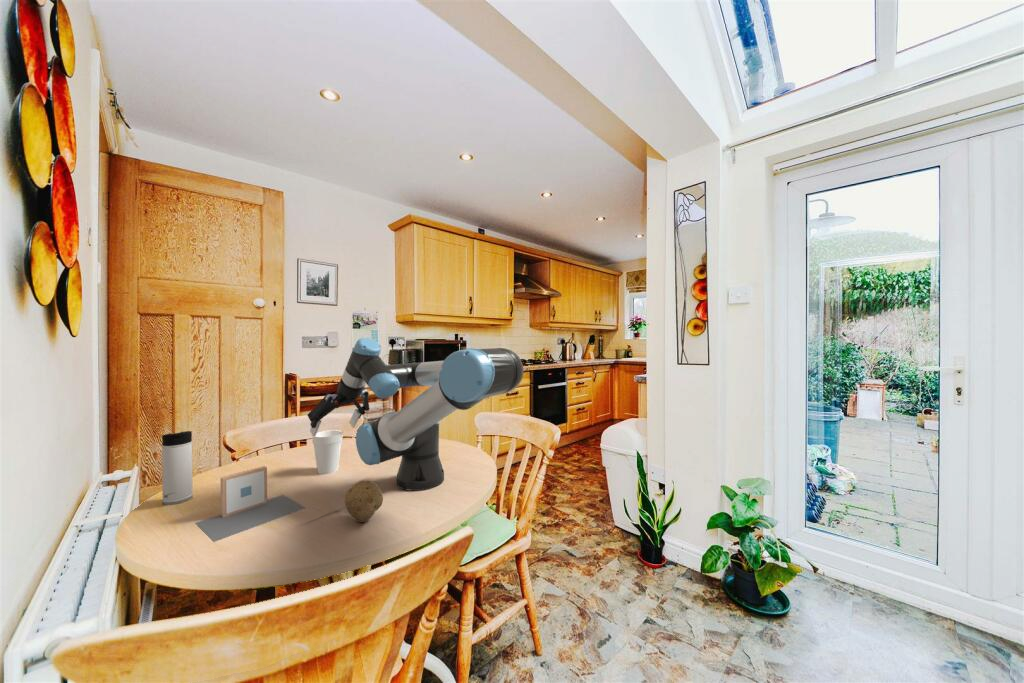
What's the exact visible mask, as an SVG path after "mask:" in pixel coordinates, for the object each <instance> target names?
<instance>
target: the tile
mask: <svg viewBox="0 0 1024 683" xmlns="http://www.w3.org/2000/svg"><path fill="white" fill-rule="evenodd" d="M267 500H268V468H267V466H264V465H263V466H260V467H256V468H252V469H247V470H243V471H239V472H236V473H233V474H228V475H224V476H220V515H221V516H222V517H226V516H229V515H232V514H235V513H238V512H241V511H244V510H247V509H250V508H253V507H256V506H259V505H262V504H265V503H267Z"/></svg>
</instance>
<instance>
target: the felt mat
mask: <svg viewBox="0 0 1024 683" xmlns="http://www.w3.org/2000/svg"><path fill="white" fill-rule="evenodd" d="M304 509H306V506H304V505H302V504H300V503H299V502H297V501H295V500H293V499H292V498H290V497H289V496H286V495H285V494H280V495H278V496H274V497H271V498H267V503H265V504H262V505H259V506H256V507H253V508H250V509H247V510H244V511H241V512H238V513H235V514H232V515H229V516H226V517H222V516H221V514H218V515H216V516H212V517H209V518H207V519H203V520H200V521H198V522H194V523H195V525H196V526H197V527H198V528H199V529H200V530H201V531H202V532H203V533H205V535H206V536H208V538H209V539H210V540H211V541H213V542H214V543H215V542H218V541H220V540H223V539H225V538H226V539H227V538H228V537H231V536H234V535H236V534H240V533H243V532H245V531H248V530H250V529H253V528H255V527H258V526H261V525H263V524H267V523H270V522H272V521H274V520H277V519H280V518H283V517H285V516H289V515H291V514H293V513H296V512H299V511H301V510H304Z"/></svg>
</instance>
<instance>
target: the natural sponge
mask: <svg viewBox="0 0 1024 683" xmlns="http://www.w3.org/2000/svg"><path fill="white" fill-rule="evenodd" d="M383 495H384V494H383V492H382V491H381V488H380V487H379V485H377V483H375V482H373V481H370V480H360V481H358V482H355V483H354V484H352V486H350V488H349V489H348V490H347V492H346V493H345V497H344V505H345V508H346V510H347V513H348V514H349V516H350V517H351V518H352V519H353V520H355V521H357V522H360V523H364V522H367V521H369V519H371V518H372V517H373V516H374V515H375V513H376V512H377V511H378V509H380V508H381V506H382V504H383V503H384V502H383V501H384V496H383Z"/></svg>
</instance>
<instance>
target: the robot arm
mask: <svg viewBox="0 0 1024 683" xmlns="http://www.w3.org/2000/svg"><path fill="white" fill-rule="evenodd" d="M381 350H382V346H381V344H380V343H379V341H377V340H375V339H372V338H369V337H360V338H359V339H358V340H357V341H356V343H355V344H354V346H353V348H352V350H351V353H350V356H349V358H348V362H347V364H346V366H345V368H344V371H343V373H342V375H341V377H340V381H339V382H338V385H337V391H336V392H335V393H334V394H331V393H330V392H327V393H325V395H324V397H323V398H322V399H321V400H320V401H319V402H318V403H317V404H316V405H315V406H314V407H313V408H312V409H311V411H309V412H308V413H307V418H308V419H309V421H310V429H309V431H310V434H311V435H312V437H313V436H316V433H317V432H319V428H320V426H321V423H322V420H323V419H324V417H326V416H327V415H329V414H330V413H331V412H333V411H334V410H335V409H338V408H340V407H342V406H346V405H347V406H348V405H351V404H353V405H354V406H355V407H356V408H354V410H353V413H352V416H351V417H350V420H349V422H348V423H349V424H350V426H351V428H356V425H357V423H358V422H359V419H361V417H362V415H363V416H364V415H365V414H366V412H369V411H370V404H369V394H370V393H369V391H368V390H367V389H366V385H367V387H368V389H369V390H370V391H371V392H373V394H374V395H375V397H377V398H379V399H383V400H385V399H388V398H389V397H392V396H394V395H395V394H397V392H398V391H399V389H405V388H411V387H427V386H428V388H426V390H424V391H423V392H422V393H420V394H418V396H417V397H415V398H413V399H412V400H411V401H410V402H408V403H407V404H405V405H404V406H403V407H402V408H401V409H399V410H398V411H390V412H387V413H385V414H384V415H382V416H381V417H380V418H378V419H377V420H375V421H372V422H366V423H363V424H361V425H360V426H359V427H358V428H357V431H356V432H355V433H356V434H355V444H356V445H355V446H356V450H357V453H358V456H359V458H360V459H361V461H362V462H363V463H364V464H366V465H367V466H374V465H380V464H381V463H384V462H387V461H391V460H393V459H396V458H400V457H401V459H400V460H401V461H400V462H399V467H398V470H397V474H396V476H395V483H396V486H397V487H398V488H400V489H402V490H407V491H421V490H428V489H432V488H435V487H438V486H439V485H441V484H442V483H443V482H444V481H445V470H444V468H443V465H442V462H441V459H440V458H441V457H440V455H439V453H440V449H439V448H440V446H439V444H440V441H439V440H440V421H441V420H443V419H444V418H446V417H448V416H449V415H450V414H452V413H454V412H455V411H457V410H460V411H468V410H469V409H471V408H473V407H475V406H476V405H478V404H479V403H480V402H482V401H483V400H486V399H489V398H490V397H495V396H499V395H504V394H508V393H510V392H513V391H514V390H515V389H516V388H517V387H518V386H519V385H520V384H521V382H522V380H523V377H524V365H523V362H522V360H521V358H520V357H519V355H518V354H517V353H516V352H514V351H512V350H511V349H508V348H505V347H504V348H503V347H496V348H493V347H492V348H470V347H469V348H464V349H460V350H457V351H453V352H452V353H450V354H449V355H448V356H447V357H445V359H443V360H437V361H436V360H434V361H425V362H421V361H420V362H410V363H400V364H386V363H385V362H384V360H383V359H382V358H381V357H380V354H381ZM360 397H361V402H362V403H361V404H362V405H361V404H360V403H359V402H358V400H357V399H358V398H360ZM336 402H337V403H336Z"/></svg>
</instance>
